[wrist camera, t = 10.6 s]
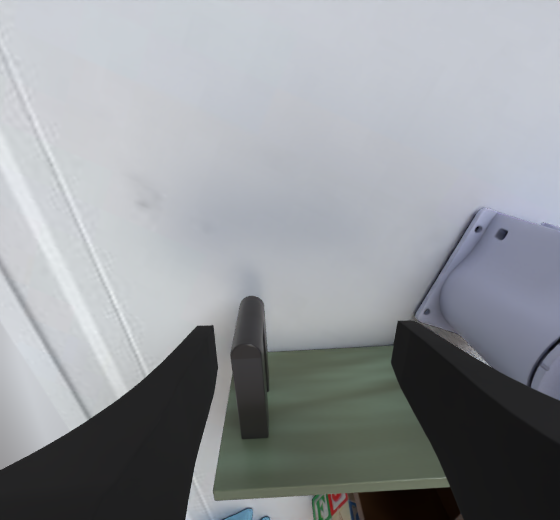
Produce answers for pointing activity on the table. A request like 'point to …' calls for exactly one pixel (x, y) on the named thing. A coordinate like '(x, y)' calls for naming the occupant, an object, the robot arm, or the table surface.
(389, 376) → the cupboard door
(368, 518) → the cupboard
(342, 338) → the table surface
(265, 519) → the chair
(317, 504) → the stack of blocks
